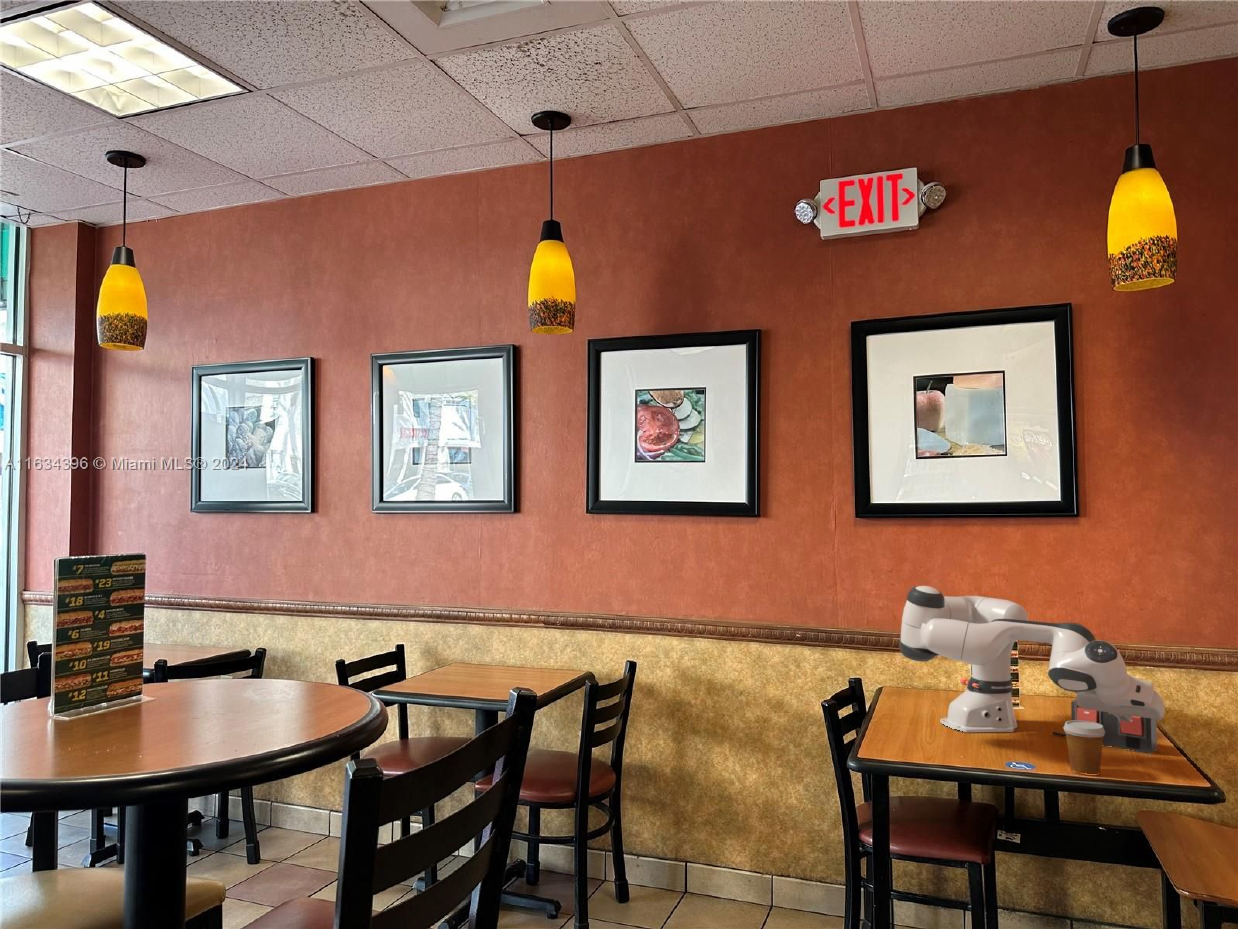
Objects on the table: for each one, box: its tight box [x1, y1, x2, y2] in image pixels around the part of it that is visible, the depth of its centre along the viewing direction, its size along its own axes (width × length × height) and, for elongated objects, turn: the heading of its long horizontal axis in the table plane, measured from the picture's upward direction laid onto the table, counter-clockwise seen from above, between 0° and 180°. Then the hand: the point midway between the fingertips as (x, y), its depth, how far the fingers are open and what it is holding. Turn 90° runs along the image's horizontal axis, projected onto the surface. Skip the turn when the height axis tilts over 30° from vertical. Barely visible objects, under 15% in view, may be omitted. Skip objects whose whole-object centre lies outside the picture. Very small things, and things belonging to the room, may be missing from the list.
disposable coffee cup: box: [1062, 719, 1105, 774], centre depth 223 cm, size 10×10×12 cm
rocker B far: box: [1120, 716, 1143, 736], centre depth 240 cm, size 5×1×5 cm, turn 47°
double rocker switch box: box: [1052, 698, 1158, 754], centre depth 248 cm, size 26×7×11 cm, turn 47°
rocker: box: [1077, 707, 1098, 723], centre depth 247 cm, size 5×1×5 cm, turn 47°
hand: (1125, 719), depth 235 cm, fingers closed
